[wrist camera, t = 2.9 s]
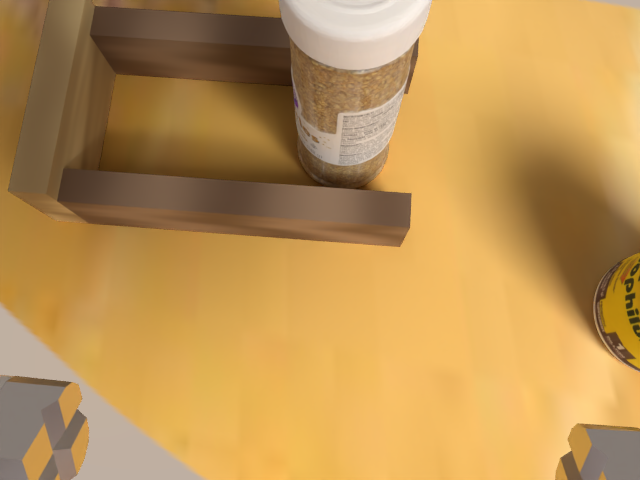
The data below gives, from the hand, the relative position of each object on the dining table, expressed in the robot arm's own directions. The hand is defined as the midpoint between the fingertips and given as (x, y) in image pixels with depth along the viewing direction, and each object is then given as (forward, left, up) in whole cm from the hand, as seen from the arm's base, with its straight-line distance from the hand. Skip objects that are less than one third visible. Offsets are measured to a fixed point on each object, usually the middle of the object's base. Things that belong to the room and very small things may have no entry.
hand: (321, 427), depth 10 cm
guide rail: (-1, -13, -17) cm, 22 cm away
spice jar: (-6, -11, -17) cm, 21 cm away
